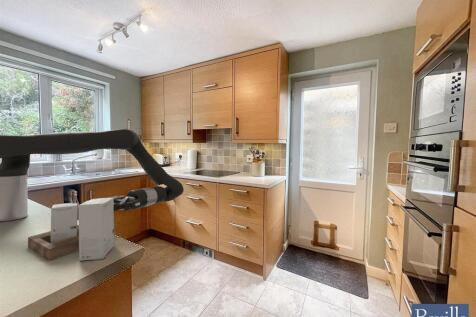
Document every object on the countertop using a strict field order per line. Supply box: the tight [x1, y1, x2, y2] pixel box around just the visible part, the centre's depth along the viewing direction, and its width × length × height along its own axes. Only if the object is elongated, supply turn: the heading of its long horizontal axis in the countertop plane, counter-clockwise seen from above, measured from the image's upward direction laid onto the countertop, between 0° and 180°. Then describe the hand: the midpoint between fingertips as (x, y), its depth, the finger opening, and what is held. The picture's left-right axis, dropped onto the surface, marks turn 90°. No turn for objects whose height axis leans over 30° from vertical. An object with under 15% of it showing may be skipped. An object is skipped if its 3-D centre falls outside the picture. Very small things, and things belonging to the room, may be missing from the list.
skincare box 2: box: [78, 197, 115, 262], centre depth 57 cm, size 8×6×15 cm
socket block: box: [27, 224, 79, 261], centre depth 62 cm, size 14×12×3 cm
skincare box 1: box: [50, 202, 79, 244], centre depth 62 cm, size 6×4×12 cm
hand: (100, 207), depth 70 cm, fingers open, 8 cm apart
